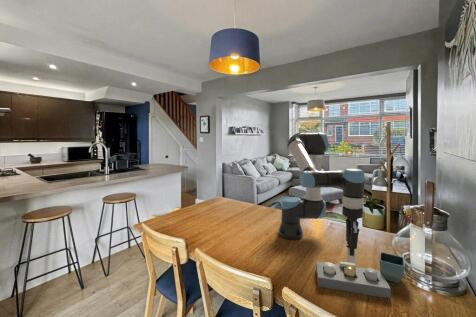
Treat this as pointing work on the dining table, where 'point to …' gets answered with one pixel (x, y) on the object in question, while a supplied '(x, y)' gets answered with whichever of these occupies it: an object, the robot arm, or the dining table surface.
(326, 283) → the console
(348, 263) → the block
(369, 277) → the white rounded dome
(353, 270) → the brass button
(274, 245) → the dining table surface
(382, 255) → the flower pot
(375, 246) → the dining table surface
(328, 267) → the white rounded piece
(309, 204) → the robot arm
